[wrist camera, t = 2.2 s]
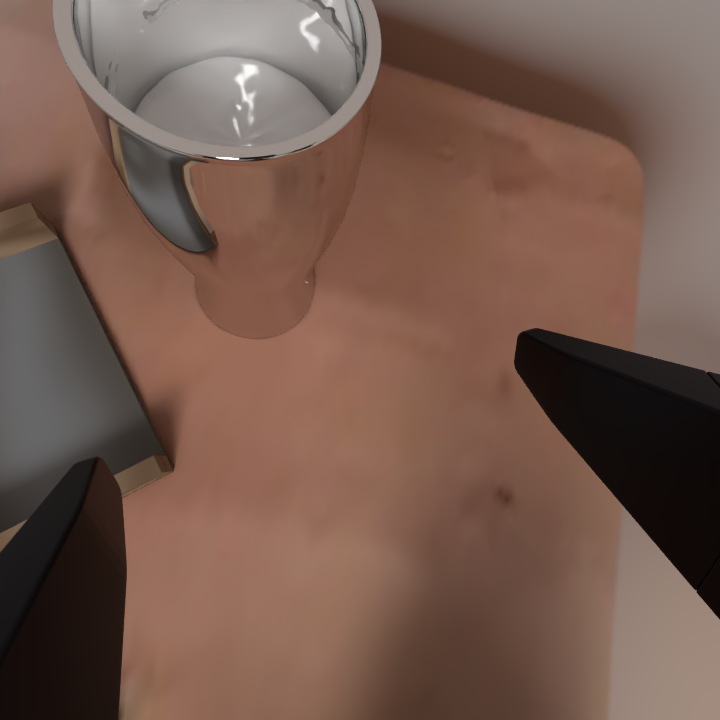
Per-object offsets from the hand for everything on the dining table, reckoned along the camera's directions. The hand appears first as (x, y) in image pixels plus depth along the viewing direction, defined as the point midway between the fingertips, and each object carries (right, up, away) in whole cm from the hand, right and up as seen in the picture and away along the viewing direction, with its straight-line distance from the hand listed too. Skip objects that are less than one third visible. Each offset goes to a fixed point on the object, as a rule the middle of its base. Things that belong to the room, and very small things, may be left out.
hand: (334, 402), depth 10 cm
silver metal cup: (-5, +5, +14) cm, 16 cm away
